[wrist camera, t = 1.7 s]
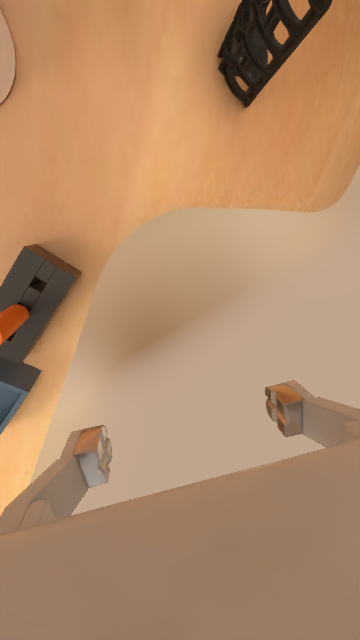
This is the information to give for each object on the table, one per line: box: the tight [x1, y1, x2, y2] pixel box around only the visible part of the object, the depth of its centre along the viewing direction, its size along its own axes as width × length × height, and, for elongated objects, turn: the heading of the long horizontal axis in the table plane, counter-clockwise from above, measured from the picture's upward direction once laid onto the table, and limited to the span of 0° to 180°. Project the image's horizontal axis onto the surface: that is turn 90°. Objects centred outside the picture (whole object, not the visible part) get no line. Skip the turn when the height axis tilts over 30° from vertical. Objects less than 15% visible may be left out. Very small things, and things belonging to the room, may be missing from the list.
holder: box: [218, 0, 332, 107], centre depth 26 cm, size 11×8×20 cm
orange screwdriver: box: [0, 304, 29, 345], centre depth 34 cm, size 3×3×15 cm
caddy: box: [0, 244, 81, 364], centre depth 38 cm, size 8×17×5 cm, turn 142°
